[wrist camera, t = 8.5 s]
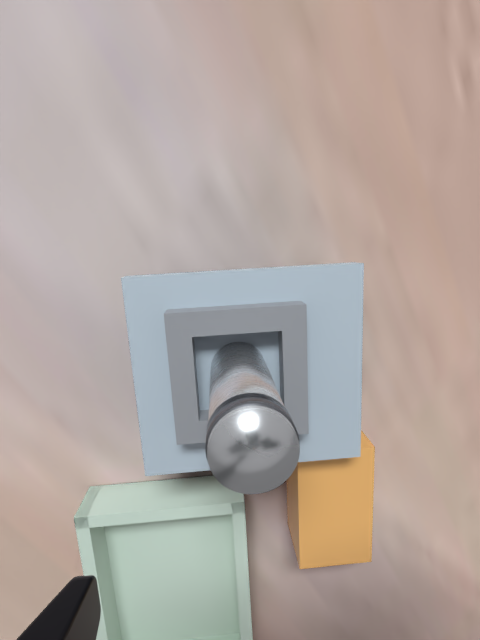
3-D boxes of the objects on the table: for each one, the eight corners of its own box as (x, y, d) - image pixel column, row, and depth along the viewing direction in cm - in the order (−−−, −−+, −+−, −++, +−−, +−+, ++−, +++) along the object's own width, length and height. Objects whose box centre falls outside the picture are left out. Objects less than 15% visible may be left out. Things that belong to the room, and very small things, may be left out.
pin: (267, 393, 16) (302, 491, 10) (211, 397, 16) (208, 499, 9) (265, 338, 15) (301, 404, 9) (207, 342, 15) (201, 412, 9)
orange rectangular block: (348, 515, 23) (371, 561, 20) (287, 521, 23) (299, 569, 20) (349, 415, 22) (374, 446, 18) (284, 420, 22) (297, 453, 18)
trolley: (329, 412, 21) (369, 469, 16) (160, 426, 21) (141, 490, 15) (329, 259, 20) (373, 264, 14) (143, 270, 19) (114, 280, 14)
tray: (250, 630, 24) (254, 673, 22) (115, 646, 24) (104, 691, 21) (241, 472, 22) (244, 501, 19) (89, 486, 21) (73, 517, 19)
